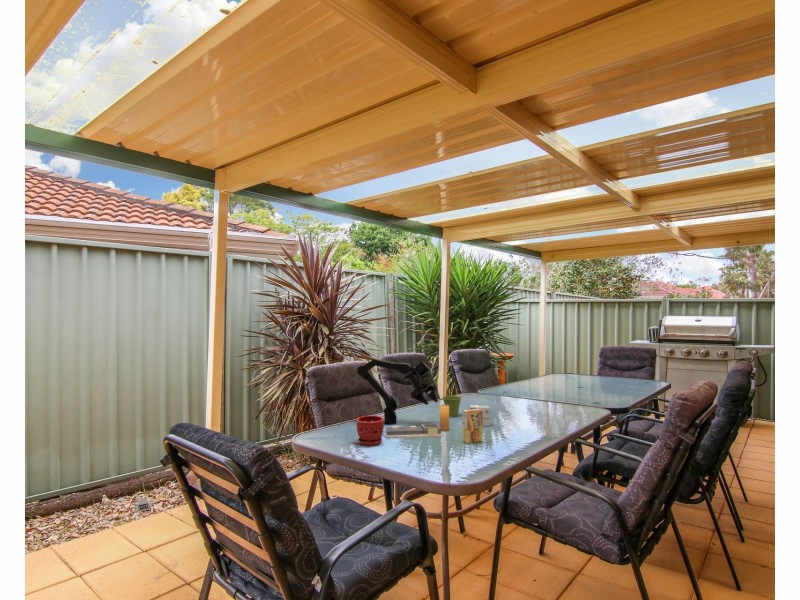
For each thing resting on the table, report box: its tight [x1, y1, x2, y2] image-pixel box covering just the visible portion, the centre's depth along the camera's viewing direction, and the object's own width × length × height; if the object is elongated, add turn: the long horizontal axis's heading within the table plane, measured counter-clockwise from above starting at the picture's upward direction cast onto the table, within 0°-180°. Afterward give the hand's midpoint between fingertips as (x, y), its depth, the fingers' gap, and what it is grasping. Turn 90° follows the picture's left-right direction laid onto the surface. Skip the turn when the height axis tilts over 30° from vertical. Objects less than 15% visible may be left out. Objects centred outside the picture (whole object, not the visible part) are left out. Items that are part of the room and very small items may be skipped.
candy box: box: [462, 409, 483, 444], centre depth 221 cm, size 9×4×15 cm, turn 116°
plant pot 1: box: [356, 415, 385, 446], centre depth 219 cm, size 13×13×12 cm
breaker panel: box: [384, 423, 443, 439], centre depth 234 cm, size 28×12×4 cm, turn 96°
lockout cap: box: [439, 404, 450, 432], centre depth 244 cm, size 5×5×13 cm
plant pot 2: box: [442, 395, 462, 418], centre depth 280 cm, size 12×12×11 cm
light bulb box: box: [469, 404, 491, 427], centre depth 255 cm, size 11×7×11 cm, turn 84°
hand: (432, 403), depth 250 cm, fingers open, 9 cm apart
